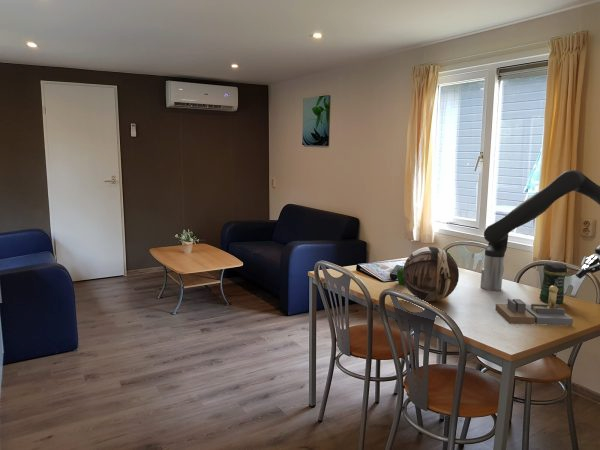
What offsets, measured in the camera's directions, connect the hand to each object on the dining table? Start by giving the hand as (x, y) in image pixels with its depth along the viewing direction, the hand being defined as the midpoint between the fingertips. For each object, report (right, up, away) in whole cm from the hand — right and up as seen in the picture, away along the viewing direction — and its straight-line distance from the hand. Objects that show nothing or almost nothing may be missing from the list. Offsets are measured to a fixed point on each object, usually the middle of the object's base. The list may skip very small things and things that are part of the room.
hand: (577, 276), depth 193 cm
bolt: (-12, -15, +3) cm, 19 cm away
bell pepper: (-61, -10, +49) cm, 79 cm away
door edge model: (-17, -18, +4) cm, 25 cm away
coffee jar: (+3, -15, +26) cm, 30 cm away
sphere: (-55, -14, +25) cm, 62 cm away
